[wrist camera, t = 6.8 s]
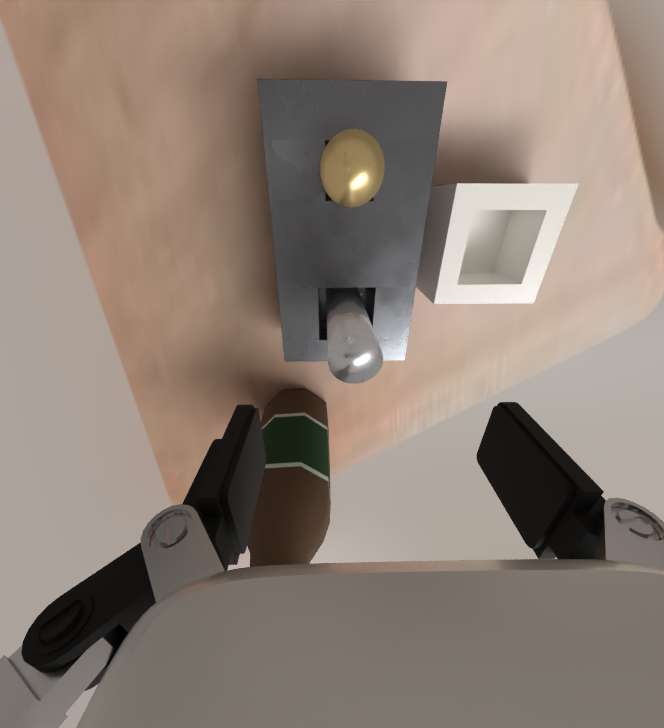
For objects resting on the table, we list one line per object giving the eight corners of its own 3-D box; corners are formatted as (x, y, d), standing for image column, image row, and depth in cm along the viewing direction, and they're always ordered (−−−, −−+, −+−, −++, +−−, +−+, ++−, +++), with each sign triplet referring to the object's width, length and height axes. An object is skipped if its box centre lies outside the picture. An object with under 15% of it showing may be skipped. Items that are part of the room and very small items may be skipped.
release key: (320, 147, 20) (319, 128, 15) (370, 147, 20) (387, 128, 15) (321, 205, 22) (320, 207, 17) (367, 205, 22) (381, 207, 17)
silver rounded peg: (325, 279, 25) (327, 335, 15) (359, 278, 25) (385, 335, 15) (326, 311, 26) (328, 383, 16) (357, 311, 26) (380, 382, 16)
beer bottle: (311, 375, 31) (288, 723, 10) (340, 422, 35) (367, 749, 14) (252, 400, 33) (131, 747, 12) (286, 443, 36) (238, 765, 16)
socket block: (274, 110, 20) (257, 79, 15) (415, 111, 20) (447, 81, 15) (291, 331, 28) (284, 361, 23) (389, 330, 29) (404, 359, 24)
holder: (431, 186, 22) (457, 183, 18) (529, 186, 23) (578, 183, 18) (415, 286, 26) (434, 303, 22) (499, 286, 27) (533, 303, 22)
